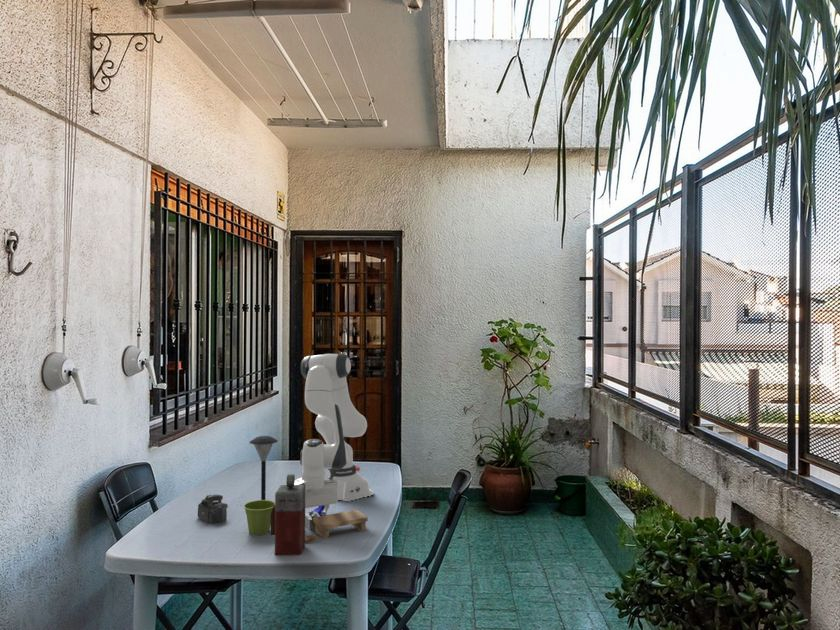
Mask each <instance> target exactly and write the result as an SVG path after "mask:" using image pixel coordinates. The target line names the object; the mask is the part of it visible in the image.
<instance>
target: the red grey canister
mask: <svg viewBox="0 0 840 630" xmlns="http://www.w3.org/2000/svg"><path fill="white" fill-rule="evenodd" d="M295 477H296V476H295V474H290V473H289V474H287V475H286V482H285V483H286V484H281V485H279V487H278V489H277V490H276V492H275V495H274V496H275V497H274V502H275V504H274V506H273V508H272V511H271V525H270V536H274V556H302V554H303V551H304V550H305V547H306V543H305V536H306V526H305V513H306V508H305V485H294V483H295V480H296V479H295Z"/></svg>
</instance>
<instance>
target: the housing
mask: <svg viewBox="0 0 840 630" xmlns="http://www.w3.org/2000/svg"><path fill="white" fill-rule="evenodd" d="M319 516H320V515H319V514H318V513H317V512H313V510H309V512H305V528H306V529H308V530H309V531H313V530H314V531H315V522H313V517H319Z"/></svg>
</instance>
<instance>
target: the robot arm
mask: <svg viewBox="0 0 840 630" xmlns="http://www.w3.org/2000/svg"><path fill="white" fill-rule="evenodd" d="M351 368H352V365H351V360H350V358H349V356H348V355H347V354H345V353H324V354H316V355H311V354H310V355H307V356H304V358H302V360H301V362H300V372H301V375H302V376H303V378H304V379H305V385H304V404H305V406H306V409H308V410H309V411H310V412H311V413H313V414H315V415H317V416H316V418H315V421H314V425H315V426H314V427H315V429H316V431H317V432H318V433H319V434H320V435H321V436H322V438H323V440H324V441H325V443H326V444H325V443H324V442H323V440H321V439H318V438H310V439H307V440H305V441H304V442H303V446H302V449H301V451H300V458H299V459H300V460H299V461H300V465H301V468H302V472H301V477H299V478H297V479H295V483H294V485H305V509H308V508H317V507H319V506H323V505H324V506H325V508H324V510H323V511H321V513H322V514H321V515H322V516H324V515H328V514H327V512H328V510H329V509H330V505H335V504H337V503H338V502H339V501H338V500H343V501H342V502H345V501H349V502H351V501H350V500H353V501H355V500H354V499H357V500H359V499H358V498H361V499H363V498H362V497H365V498H367V497H366V496H369V497H372V496H371V495H373V494H374V493H375V492H374V491H373V490H372V489H371V488H369V483H368V481H367V479H365V478H364V477H363V476H362V475H361V474H359V473H358V472H360V470H361V467H359V466H356V465H354V464H353V463H354V462H353V461H354V460H353V457H354V455H353V454H354V450H353V448H352V446H351V445H350V444H349V443H347V442H346V441H345V438H346V437H347V438H357V437H362V436H363V435H364V434H365V433H366V431H367V428H368V422H367V419H366V417H365V416H364V415H363V414H361V413H360V412H359V411H358V410H357V409H356V407H355V406H354V404H353V402H352V400H351V398H350V392H349V385H348V382H347V377H348V375H350V373H351ZM325 469H327V480H325ZM373 496H374V495H373Z"/></svg>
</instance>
